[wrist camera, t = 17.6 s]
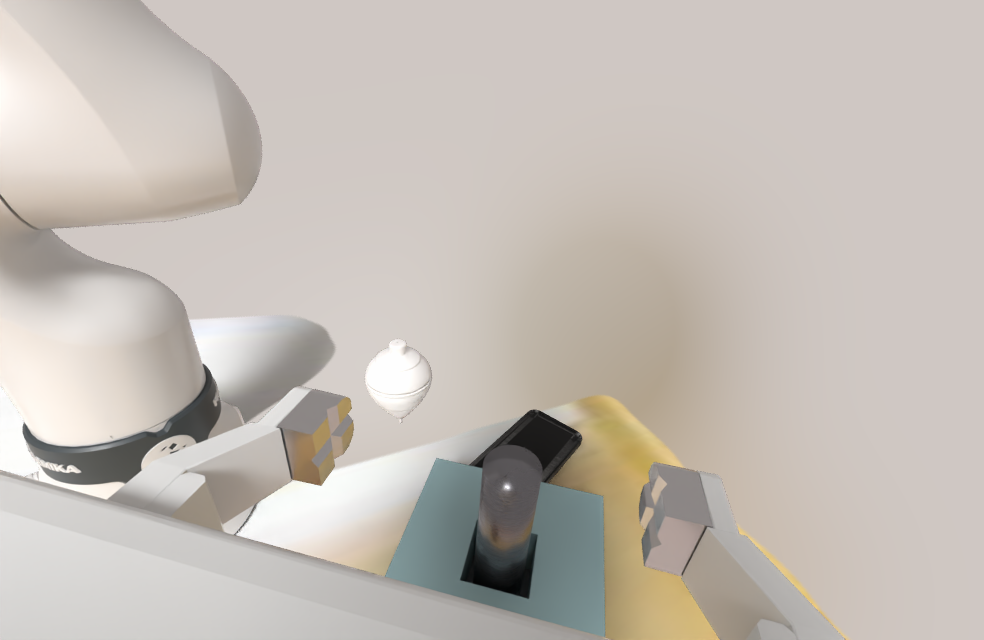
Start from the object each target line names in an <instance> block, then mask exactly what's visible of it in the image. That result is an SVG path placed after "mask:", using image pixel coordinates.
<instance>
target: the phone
mask: <svg viewBox="0 0 984 640" xmlns="http://www.w3.org/2000/svg"><path fill="white" fill-rule="evenodd" d="M581 441H582V436H581V434H580V433H579V432H578V431H576V430H574V429H572V428H570V427H569V426H567V425H565V424H563V423H561V422H559V421H558V420H556V419H554V418H552V417H550V416H549V415H547V414H545V413H543V412H541V411H539V410H530V411H529V412H527V413H526V414H525V415H524V416H523V417H522V418H521V419H520V420H519V421H517V422H516V423H515V424H514V425H513V426H512V427H511V428H510V429H509V430H507V431H506V432H505V433H504V434H503V435H502V436H501V437H500V438H499V439H497V440H496V441H495V442H494V443H493V444H492V445H491V446H490V447H489V448H487V449H486V450H485V451H484V452H483V453H482V454H481V455H480V456H479V457H478V458H476V459H475V460H474V461H473V462H472V463H471V464H470V465H469V466H474V467H478V468H482V469H483V461H484V459H485V457H486V455H487V454H488V453H489V452H490V451H491V450H493V449H495V448H497V447H499V446H504V445H516V446H520V447H523V448H525V449H528V450H529V451H531V452H532V453H533V454H535V455H536V457H537V458H538V459H539V461H540V463H541V465H542V470H543V473H542V479H541V482H544V483H549V481H550V480H551V479H552V478H553V477H554V475H555V474H556V473H557V472H558V471H559V470H560V468H561V467H562V466H563V465H564V464H565V462H566V461H567V460H568V459H569V458H570V456H571V455H572V454H573V453H574V452H575V451H576V449H577V448H578V447H579V446H580V444H581Z"/></svg>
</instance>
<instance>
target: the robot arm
mask: <svg viewBox="0 0 984 640" xmlns="http://www.w3.org/2000/svg"><path fill="white" fill-rule="evenodd" d="M261 160H262V141H261V135H260V131H259V126H258V124H257V121H256V118H255V115H254V113H253V111H252V109H251V106H250V105H249V103H248V101H247V99H246V98H245V96H244V94H243V93H242V92H241V90H240V89H239V87H238V86H237V85H236V83H235V82H234V81H233V80H232V79H231V78H230V76H229V75H228V74H227V73H226V72H225V71H224V70H223V69H222V68H221V67H220V66H218V65H217V64H216V63H215V62H213V60H211V59H210V58H209V57H208V56H206V55H205V54H203V53H202V52H200V51H199V50H197V49H196V48H194V47H193V46H191V45H190V44H189V43H188V42H186V41H185V40H184V39H182V38H181V37H180V36H179V35H177V34H176V33H175V32H174V31H172V30H171V29H170V28H169V27H168V26H167V25H166V24H165V23H163V22H162V21H161V20H160V19H159V18H158V17H157V16H156V15H154V14H153V13H152V12H151V11H150V10H149V9H148V8H147V7H146V6H145V5H144V3H143V2H142V1H141V0H0V386H1V388H2V389H3V390H4V392H5V393H6V395H7V396H8V397H9V399H10V400H11V402H12V403H13V405H14V406H15V408H16V409H17V411H18V413H19V414H20V416H21V417H22V419H23V421H24V424H23V435H24V438H25V440H26V443H27V444H26V445H27V448H28V450H29V452H30V454H31V456H32V457H33V459H34V460H35V461H36V462H38V464H39V471H38V472H35V473H34V474H33V473H32V474H30V475H27V476H25V477H23V476H20V475H16V474H12V473H9V472H5V471H2V470H0V640H613V639H609V638H605V637H602V636H598V635H594V634H591V633H587V632H584V631H580V630H576V629H573V628H569V627H565V626H562V625H558V624H555V623H551V622H547V621H544V620H540V619H536V618H533V617H529V616H526V615H522V614H518V613H515V612H511V611H507V610H504V609H500V608H496V607H493V606H489V605H486V604H482V603H478V602H475V601H471V600H467V599H464V598H460V597H457V596H453V595H449V594H446V593H442V592H439V591H435V590H431V589H428V588H424V587H421V586H417V585H413V584H410V583H406V582H402V581H399V580H395V579H392V578H388V577H384V576H381V575H377V574H374V573H370V572H366V571H363V570H359V569H356V568H352V567H348V566H345V565H341V564H338V563H334V562H330V561H327V560H323V559H319V558H316V557H312V556H309V555H305V554H301V553H298V552H294V551H291V550H287V549H283V548H280V547H276V546H273V545H269V544H265V543H262V542H258V541H254V540H251V539H247V538H244V537H240V536H236V535H234V534H235V533H236V532H237V531H238V529H239V528H240V527H241V526H242V525H243V523H244V522H245V521H246V519H247V518H248V516H249V515H250V513H251V511H252V509H253V507H254V505H255V504H256V503H258V502H259V501H261V500H263V499H264V498H266V497H267V496H269V495H270V494H272V493H274V492H275V491H277V490H278V489H280V488H282V487H283V486H285V485H286V484H288V483H289V482H291V481H292V480H297V481H302V482H306V483H311V484H315V485H320V486H321V485H322V484H323V483H324V481H325V480H326V478H327V477H328V476H329V474H330V473H331V471H332V470H333V468H334V467H335V464H334V459H335V458H337V457H339V456H341V455H343V454H344V453H345V451H346V450H347V448H348V447H349V444H350V442H351V439H352V436H353V430H354V425H353V420H352V419H351V417H350V416H349V415H348V413H349V411H350V410H351V409H352V407H351V400H350V399H349V398H348V397H345V396H341V395H337V394H332V393H328V392H324V391H320V390H316V389H315V390H314V389H310V388H306V387H302V386H297V387H294V388H293V389H292V390H291V391H290V392H288V393H287V394H286V395H285V396H284V397H283V398H282V399H281V400H280V401H279V402H278V403H277V404H276V405H275V406H274V407H273V408H272V409H271V410H270V411H269V412H268V413H267V414H266V415H265V416H264V417H263V418H262V419H261V420H260V421H259V422H258V423H254V422H251V423H248V424H246V425H245V423H244V420H243V417H242V415H241V412H240V410H239V409H238V408H237V407H236V406H231V405H230V404H228V403H226V402H223V401H220V398H219V390H218V387H217V384H216V382H215V380H214V378H213V377H212V375H211V372H210V370H209V369H208V368H207V366H205V365H204V364H202V361H201V358H200V355H199V351H198V348H197V345H196V342H195V338H194V335H193V332H192V329H191V326H190V322H189V319H188V316H187V313H186V309H185V306H184V304H183V302H182V301H181V300H180V298H179V297H178V296H177V295H176V294H175V293H174V292H173V291H172V290H171V289H170V288H168V287H167V286H166V285H164V284H163V283H161V282H160V281H158V280H157V279H155V278H153V277H152V276H150V275H147V274H145V273H143V272H140V271H137V270H133V269H130V268H126V267H122V266H118V265H114V264H110V263H106V262H102V261H100V260H97V259H94V258H92V257H89V256H87V255H85V254H83V253H81V252H80V251H78V250H76V249H74V248H73V247H71V246H70V245H68V244H67V243H65V242H64V241H63V240H61V239H60V238H59V237H58V236H57V235H55V233H54V232H53V231H52V230H51V229H55V228H70V227H86V226H102V225H119V224H135V223H150V222H166V221H174V220H178V219H183V218H187V217H192V216H196V215H200V214H205V213H209V212H213V211H217V210H220V209H225V208H228V207H232V206H236V205H239V204H241V203H242V202H243V201H244V199H245V198H246V197H247V196H248V194H249V193H250V191H251V190H252V188H253V186H254V184H255V183H256V180H257V177H258V175H259V171H260V167H261ZM291 479H292V480H291ZM649 481H650V482H649V483H647V484H645V485H644V487H643V490H642V493H641V497H640V504H639V519H640V524H641V526H642V527H643V528H644V530H645V532H644V535H643V538H642V550H643V559H644V566H645V567H649V568H653V569H656V570H660V571H664V572H667V573H671V574H674V575H678V576H682V577H681V579H682V580H683V582H684V584H685V585H686V587H687V588H688V590H689V592H690V593H691V595H692V596H693V598H694V600H695V601H696V603H697V604H698V606H699V607H700V609H701V611H702V612H703V614H704V615H705V617H706V619H707V620H708V622H709V623H710V625H711V627H712V628H713V630H714V631H715V633H716V634H717V636H718V638H719V639H720V640H845V638H844V637H843V636H842V635H841V634H840V633H839V632H838V631H837V630H836V629H835V628H834V627H833V626H832V625H831V624H830V623H829V622H828V621H827V620H826V619H825V618H824V616H823V615H822V614H821V613H820V612H819V611H818V610H817V609H816V608H815V607H814V606H813V605H812V604H811V603H810V602H809V601H808V600H807V599H806V598H805V597H804V596H803V595H802V594H801V592H800V591H799V590H798V589H797V588H796V587H795V586H794V585H793V584H792V583H791V582H790V581H789V580H788V579H787V578H786V577H785V576H784V575H783V574H782V573H781V572H780V571H779V570H778V568H777V567H776V566H775V565H774V564H773V563H772V562H771V561H770V560H769V559H768V558H767V557H766V556H765V555H764V554H763V553H762V552H761V551H760V550H759V549H758V548H757V547H756V546H755V544H754V543H753V542H752V541H751V540H750V539H749V538H748V537H747V536H744V535H740V534H739V531H738V528H737V525H736V522H735V519H734V516H733V513H732V510H731V506H730V503H729V500H728V497H727V494H726V491H725V488H724V485H723V482H722V479H721V478H720V477H719V475H716V474H711V473H706V472H701V471H694V470H690V469H686V468H681V467H676V466H671V465H666V464H661V463H656V462H654V463H653V464H652V465H651V468H650V470H649Z"/></svg>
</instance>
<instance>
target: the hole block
mask: <svg viewBox="0 0 984 640" xmlns="http://www.w3.org/2000/svg"><path fill="white" fill-rule="evenodd" d="M481 480H482V468H478V467H474V466H469V465H465V464H461V463H456V462H452V461H448V460H443V459H439V458H436V461H435V463H434V465H433V467H432V470H431V472H430V474H429V477H428V479H427V481H426V483H425V486H424V488H423V490H422V493H421V495H420V497H419V499H418V502H417V504H416V506H415V509H414V511H413V513H412V515H411V518H410V520H409V522H408V525H407V527H406V529H405V531H404V534H403V536H402V538H401V541H400V543H399V545H398V547H397V550H396V552H395V554H394V557H393V559H392V561H391V564H390V566H389V568H388V570H387V573H386V575H385V577H388V578H392V579H395V580H399V581H402V582H406V583H410V584H413V585H417V586H421V587H424V588H428V589H431V590H435V591H439V592H442V593H446V594H449V595H453V596H457V597H460V598H464V599H467V600H471V601H475V602H478V603H482V604H486V605H489V606H493V607H496V608H500V609H504V610H507V611H511V612H515V613H518V614H522V615H526V616H529V617H533V618H536V619H540V620H544V621H547V622H551V623H555V624H558V625H562V626H565V627H569V628H573V629H576V630H580V631H584V632H587V633H591V634H594V635H598V636H602V637H605V590H604V512H603V496H600V495H596V494H592V493H587V492H583V491H578V490H574V489H570V488H565V487H561V486H557V485H552V484H548V483H544V482H541V484H540V489H539V495H538V500H537V505H536V511H535V516H534V521H533V527H532V532H531V537H530V543H529V548H528V553H527V559H526V564H525V569H524V574H523V580H522V585H521V590H520V596H516V595H513V594H509V593H505V592H502V591H498V590H494V589H490V588H487V587H483V586H479V585H476V584H472V582H473V571H474V559H475V548H476V537H477V525H478V514H479V503H480V491H481Z"/></svg>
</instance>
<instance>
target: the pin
mask: <svg viewBox="0 0 984 640" xmlns="http://www.w3.org/2000/svg"><path fill="white" fill-rule="evenodd" d="M542 473H543V470H542V465H541V463H540V461H539V459H538V458H537V457H536V455H535V454H533V453H532V452H531V451H529V450H528V449H525V448H523V447H520V446H516V445H504V446H499V447H497V448H495V449H493V450H491V451H490V452H489V453H488V454H487V455H486V457H485V459H484V461H483V469H482V480H481V491H480V503H479V514H478V525H477V537H476V548H475V559H474V571H473V582H472V584H476V585H479V586H483V587H487V588H490V589H494V590H498V591H502V592H505V593H509V594H513V595H516V596H520V590H521V585H522V580H523V574H524V569H525V564H526V559H527V553H528V548H529V543H530V537H531V532H532V527H533V521H534V516H535V511H536V505H537V500H538V495H539V489H540V484H541V479H542Z"/></svg>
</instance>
